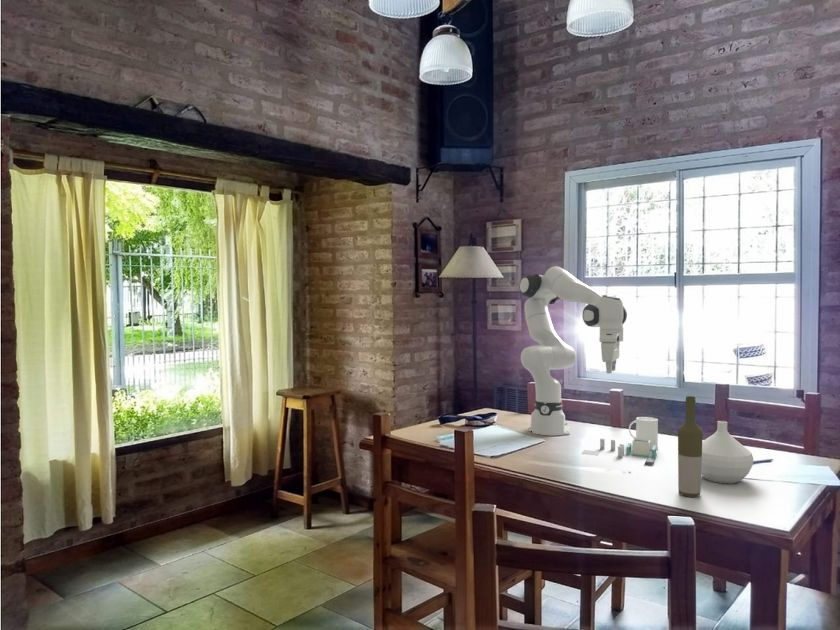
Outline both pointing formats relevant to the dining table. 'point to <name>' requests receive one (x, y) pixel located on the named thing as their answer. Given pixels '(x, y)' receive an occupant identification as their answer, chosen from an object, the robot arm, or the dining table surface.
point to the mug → (646, 430)
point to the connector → (641, 446)
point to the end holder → (629, 452)
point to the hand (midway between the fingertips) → (611, 371)
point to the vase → (724, 457)
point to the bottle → (689, 453)
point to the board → (620, 451)
